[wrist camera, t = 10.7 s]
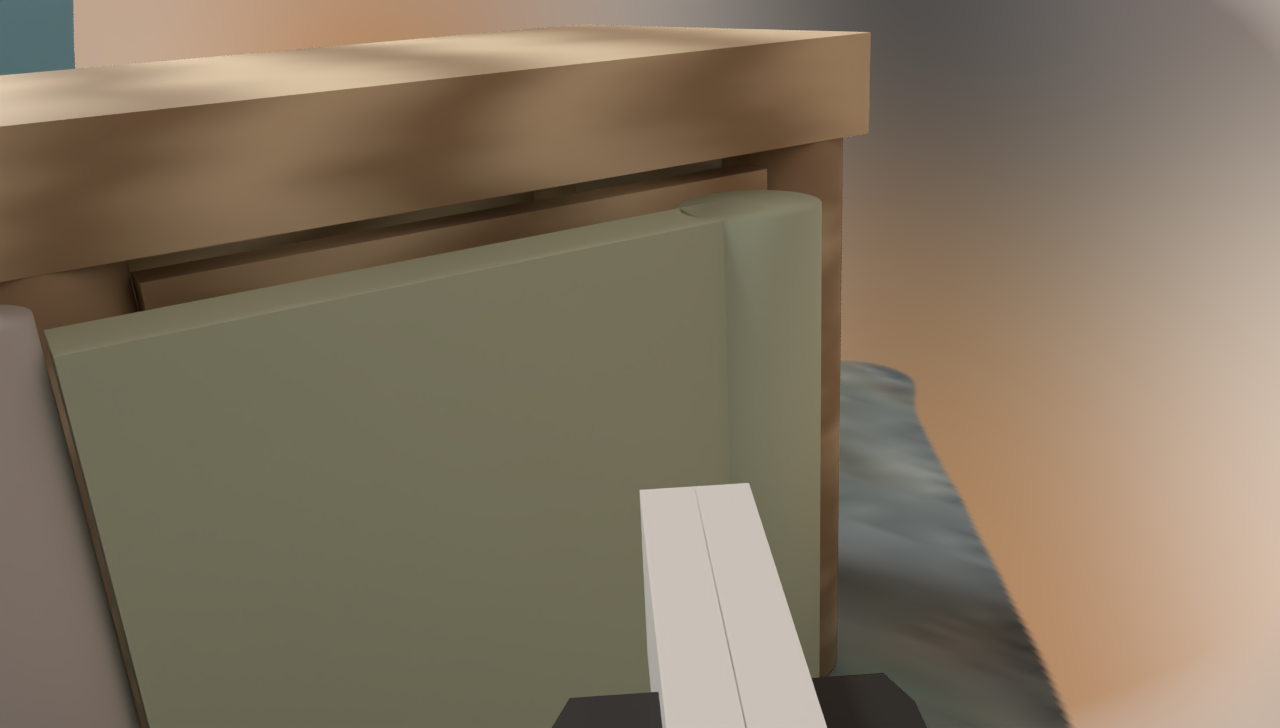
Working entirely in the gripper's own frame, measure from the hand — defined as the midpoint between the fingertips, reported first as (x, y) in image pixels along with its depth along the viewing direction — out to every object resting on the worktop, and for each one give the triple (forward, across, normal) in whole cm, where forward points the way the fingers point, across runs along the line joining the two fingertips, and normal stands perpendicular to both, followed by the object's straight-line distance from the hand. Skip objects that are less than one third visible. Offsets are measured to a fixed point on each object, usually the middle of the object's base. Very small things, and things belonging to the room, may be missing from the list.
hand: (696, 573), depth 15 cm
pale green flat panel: (+5, -4, -11) cm, 13 cm away
